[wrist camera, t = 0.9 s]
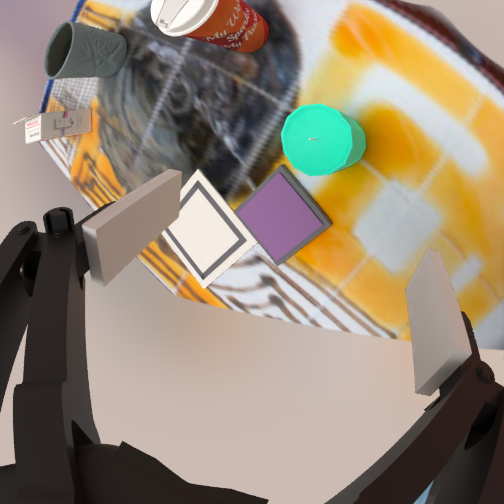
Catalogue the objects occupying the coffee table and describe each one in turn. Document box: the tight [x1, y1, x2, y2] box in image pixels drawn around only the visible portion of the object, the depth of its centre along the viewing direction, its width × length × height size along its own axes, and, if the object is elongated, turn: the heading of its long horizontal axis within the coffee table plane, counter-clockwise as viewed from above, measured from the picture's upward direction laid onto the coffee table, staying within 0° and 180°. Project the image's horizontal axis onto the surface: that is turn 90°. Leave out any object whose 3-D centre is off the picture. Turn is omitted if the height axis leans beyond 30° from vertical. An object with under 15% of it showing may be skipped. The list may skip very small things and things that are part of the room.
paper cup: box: [151, 0, 269, 53], centre depth 25 cm, size 8×8×14 cm
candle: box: [281, 104, 367, 176], centre depth 26 cm, size 6×6×12 cm
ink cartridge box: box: [13, 109, 92, 144], centre depth 44 cm, size 9×5×15 cm, turn 90°
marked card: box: [162, 169, 258, 289], centre depth 44 cm, size 13×13×1 cm
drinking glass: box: [44, 21, 127, 79], centre depth 36 cm, size 10×10×12 cm
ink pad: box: [234, 164, 332, 266], centre depth 37 cm, size 9×9×1 cm
